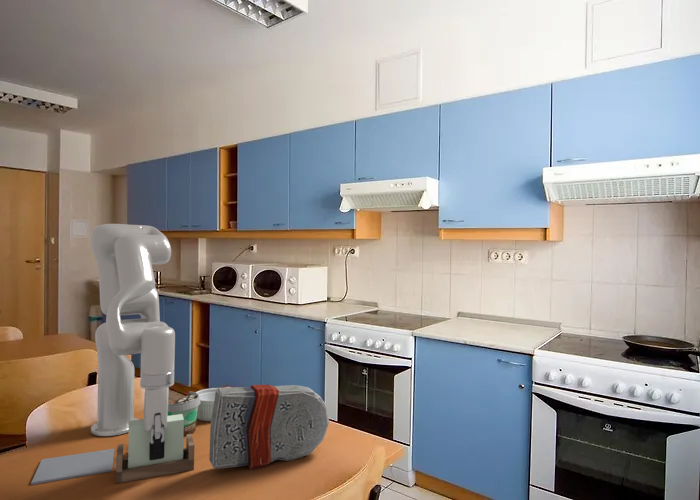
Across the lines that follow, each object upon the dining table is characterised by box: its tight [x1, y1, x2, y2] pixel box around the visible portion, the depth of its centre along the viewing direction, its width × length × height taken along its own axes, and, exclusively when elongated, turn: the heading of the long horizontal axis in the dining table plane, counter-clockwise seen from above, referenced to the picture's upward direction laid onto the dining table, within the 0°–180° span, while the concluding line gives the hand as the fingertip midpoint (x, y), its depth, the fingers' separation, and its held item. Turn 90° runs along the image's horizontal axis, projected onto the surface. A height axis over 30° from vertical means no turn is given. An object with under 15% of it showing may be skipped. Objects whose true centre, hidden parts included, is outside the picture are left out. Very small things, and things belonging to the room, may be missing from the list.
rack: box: [115, 434, 195, 484], centre depth 108 cm, size 7×17×6 cm, turn 115°
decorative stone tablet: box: [208, 384, 330, 470], centre depth 114 cm, size 19×6×30 cm
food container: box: [168, 390, 201, 438], centre depth 130 cm, size 12×6×10 cm, turn 168°
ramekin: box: [195, 387, 219, 422], centre depth 144 cm, size 13×13×7 cm
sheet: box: [127, 414, 184, 468], centre depth 108 cm, size 4×12×12 cm, turn 115°
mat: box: [30, 448, 116, 486], centre depth 109 cm, size 12×16×1 cm
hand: (156, 450), depth 108 cm, fingers open, 7 cm apart
